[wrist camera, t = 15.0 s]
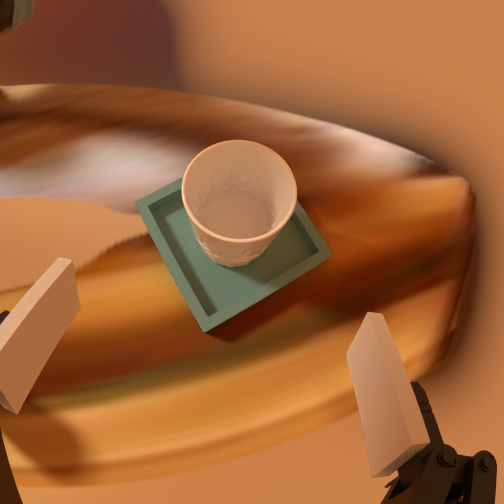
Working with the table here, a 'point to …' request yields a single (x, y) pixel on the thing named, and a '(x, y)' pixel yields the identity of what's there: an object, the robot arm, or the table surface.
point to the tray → (222, 277)
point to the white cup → (238, 200)
